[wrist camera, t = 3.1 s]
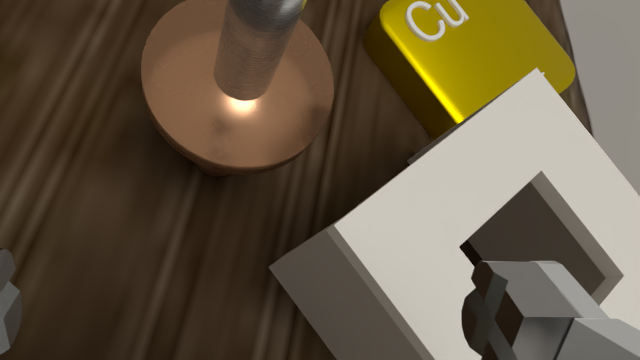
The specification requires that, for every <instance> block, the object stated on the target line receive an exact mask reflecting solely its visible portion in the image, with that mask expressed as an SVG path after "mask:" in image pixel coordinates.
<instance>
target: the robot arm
mask: <svg viewBox="0 0 640 360" xmlns="http://www.w3.org/2000/svg"><path fill="white" fill-rule="evenodd" d="M15 270H16V269H15V264H14V260H13V256H12V253H11V252H9V251H8V250H7V249H3V248H0V355H1V354H2V353H4V352H5V351H7V350H8V349H10V347H11V346H12V344H13V342H14V340H15V338H16V336H17V334H18V331H19V327H20V323H21V319H22V299H21V293H20V291H19V290H18V289H17V288H16V287H15V286H14V285H12V284H11V283H10V282H9V279H10V278H11V276H12V275H13V273H14V272H15ZM471 280H472V282H473V284H474V286H475V289H474V290H473V291H472V292H470V293H469V294H468V295H467V296H466V297H465V299H464V303H463V307H462V311H461V322H462V330H463V333H464V337H465V339H466V341H467V343H468V346H469V347H470V348H471V349H472V350H474V351H475V352H476V353H478V354H479V355H480V356H482V358H481V360H640V330H638V329H636V328H634V327H633V326H631V325H629V324H627V323H625V322H623V321H622V320H620V319H611V318H609V317H608V316H607V314H606V313H605V312H604V311H603V310H602V309H601V308H600V307H599V305H598V304H597V303H596V302H595V301H594V300H593V299H592V298H591V296H590V295H589V294H588V293H587V292H586V291H585V290H584V289H583V287H582V286H581V285H580V284H579V283H578V282H577V281H576V280H575V278H574V277H573V276H572V275H571V274H570V273H569V272H568V271H567V269H566V268H565V267H564V266H563V265H562V264H560V263H558V262H556V261H529V262H512V261H479V262H478V263H477V265H476V266H475V267H474V270H473V273H472V276H471Z"/></svg>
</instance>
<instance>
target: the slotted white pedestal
mask: <svg viewBox="0 0 640 360" xmlns="http://www.w3.org/2000/svg"><path fill="white" fill-rule="evenodd" d="M407 162H408V163H409V166H408V167H407V168H406V169H404V170H403V171H402V172H400V173H399V174H398V175H397V176H395V177H394V178H393V179H391V180H390V181H389V182H387V183H386V184H385V185H384V186H382V187H381V188H380V189H378V190H377V191H376V192H375V193H373V194H372V195H371V196H369V197H368V198H367V199H366V200H364V201H363V202H362V203H360V204H359V205H358V206H357V207H355V208H354V209H353V210H351V211H350V212H349V213H348V214H346V215H345V216H344V217H342V218H340V219H339V220H337V221H336V222H334V223H333V224H331V225H330V226H328V227H327V228H325V229H324V230H322V231H321V232H319V233H317V234H316V235H314V236H313V237H311V238H310V239H308V240H307V241H305V242H304V243H302V244H301V245H299V246H298V247H296V248H295V249H293V250H291V251H290V252H288V253H287V254H285V255H284V256H282V257H281V258H279V259H278V260H277V261H276V262H274V263H273V264H272V265H270V266H269V269H270V270H271V271H272V273H273V274H274V275H275V277H276V278H277V280H278V281H279V282H280V284H281V285H282V286H283V288H284V289H285V290H286V292H287V293H288V294H289V296H290V297H291V298H292V300H293V301H294V303H295V304H296V305H297V307H298V308H299V309H300V311H301V312H302V313H303V315H304V316H305V317H306V319H307V320H308V321H309V323H310V324H311V326H312V327H313V328H314V330H315V331H316V332H317V334H318V335H319V336H320V338H321V339H322V340H323V342H324V343H325V345H326V346H327V347H328V349H329V350H330V351H331V353H332V354H333V355H334V357H335V358H336V359H337V360H481V358H482V356H480V355H479V354H478V353H476V352H475V351H474V350H472V349H471V348H470V347H469V346H468V343H467V341H466V339H465V337H464V333H463V330H462V322H461V311H462V307H463V303H464V299H465V297H466V296H467V295H468V294H469V293H470V292H472V291H473V290H474V289H475V286H474V284H473V282H472V280H471V276H472V273H473V270H474V266H473V265H472V263H471V262H470V261H469V259H468V258H467V257H466V256H465V254H464V253H463V252H462V250H461V249H460V248H459V246H460V245H461V244H463V243H464V242H465V241H466V240H468V241H469V243H470V244H471V245H472V247H473V248H474V249H475V250H476V252H477V253H478V254H479V256H480V257H481V258H482V260H483V261H512V262H529V261H556V262H558V263H560V264H562V265H563V266H564V267H565V268H566V269H567V271H568V272H569V273H570V274H571V275H572V276H573V277H574V278H575V280H576V281H577V282H578V283H579V284H580V285H581V286H582V287H583V289H584V290H585V291H586V292H587V293H588V294H589V295H590V296H591V298H592V299H593V300H594V301H595V302H596V303H597V304H598V305H599V307H600V308H601V309H602V310H603V311H604V312H605V313H606V314H607V316H608V317H609V318H611V319H620V320H622V321H623V322H625V323H627V324H629V325H631V326H633V327H634V328H636V329H638V330H640V196H639V195H638V194H637V192H636V191H635V190H634V189H633V187H632V186H631V185H630V184H629V182H627V180H626V179H625V177H624V176H623V175H622V174H621V173H620V171H619V170H618V169H617V168H616V166H615V165H614V164H613V162H612V161H611V160H610V159H609V157H608V156H607V155H606V154H605V152H604V151H603V150H602V149H601V147H600V146H599V145H598V144H597V142H596V141H595V140H594V139H593V137H592V136H591V135H590V134H589V132H588V131H587V130H586V129H585V127H584V126H583V125H582V124H581V122H580V121H579V120H578V119H577V117H576V116H575V115H574V113H573V112H572V111H571V110H570V108H569V107H568V106H567V105H566V103H565V102H564V101H563V100H562V98H561V97H560V96H559V95H558V93H557V92H556V91H555V90H554V88H553V87H552V86H551V85H550V83H549V82H548V81H547V80H546V78H545V77H544V76H543V75H542V73H541V72H540V71H539V70H538V68H535V69H534V70H533V71H531V72H530V73H528V74H527V75H526V76H524V77H523V78H521V79H520V80H519V81H517V82H516V83H514V84H513V85H512V86H510V87H509V88H507V89H506V90H505V91H503V92H502V93H500V94H499V95H498V96H496V97H495V98H493V99H492V100H491V101H489V102H488V103H486V104H485V105H484V106H482V107H481V108H479V109H478V110H477V111H475V112H474V113H472V114H471V115H470V116H468V117H467V118H465V119H464V120H463V121H461V122H460V123H458V124H457V125H456V126H454V127H453V128H451V129H450V130H449V131H447V132H446V133H444V134H443V135H442V136H440V137H439V138H437V139H436V140H434V141H433V142H432V143H430V144H429V145H427V146H426V147H425V148H423V149H422V150H420V151H419V152H418V153H416V154H415V155H414V156H412V157H411V158H410V159H408V160H407Z"/></svg>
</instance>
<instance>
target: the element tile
mask: <svg viewBox="0 0 640 360" xmlns="http://www.w3.org/2000/svg"><path fill="white" fill-rule="evenodd" d="M363 43H364V47H365V49H366V51H367V53H368V55H369V56H370V57H371V59H372V60H373V61H374V62H375V64H376V65H377V66H378V68H379V69H380V70H381V72H382V73H383V74H384V76H385V77H386V78H387V80H388V81H389V82H390V84H391V85H392V86H393V87H394V89H395V90H396V91H397V93H398V94H399V95H400V97H401V98H402V99H403V101H404V102H405V103H406V105H407V106H408V107H409V108H410V110H411V111H412V112H413V114H414V115H415V116H416V118H417V119H418V120H419V122H420V123H421V124H422V126H423V127H424V128H425V130H426V131H427V132H428V133H429V135H430V136H431V137H432V139H433V140H436V139H437V138H439V137H440V136H442V135H443V134H444V133H446V132H447V131H449V130H450V129H451V128H453V127H454V126H456V125H457V124H458V123H460V122H461V121H463V120H464V119H465V118H467V117H468V116H470V115H471V114H472V113H474V112H475V111H477V110H478V109H479V108H481V107H482V106H484V105H485V104H486V103H488V102H489V101H491V100H492V99H493V98H495V97H496V96H498V95H499V94H500V93H502V92H503V91H505V90H506V89H507V88H509V87H510V86H512V85H513V84H514V83H516V82H517V81H519V80H520V79H521V78H523V77H524V76H526V75H527V74H528V73H530V72H531V71H533V70H534V69H535V68H538V70H539V71H540V72H541V73H542V75H543V76H544V77H545V78H546V80H547V81H548V82H549V83H550V85H551V86H552V87H553V88H554V90H555V91H556V92H557V93H558V95H559V94H560V93H561V92H562V91H564V90H565V89H566V88H567V87H569V86H570V84H571V83H572V82H573V80H574V77H575V68H574V65H573V63H572V61H571V59H570V58H569V56H568V55H567V54H566V52H565V51H564V50H563V49H562V47H561V46H560V45H559V44H558V42H557V41H556V40H555V39H554V37H553V36H552V35H551V33H550V32H549V31H548V30H547V28H546V27H545V26H544V25H543V23H542V22H541V21H540V20H539V18H538V17H537V16H536V15H535V13H534V12H533V11H532V9H531V8H530V7H529V6H528V4H527V3H526V2H525V1H524V0H389V1H387V2H386V3H385V4H384V5H383V6H382V7H381V9H380V10H379V12H378V13H377V15H376V16H375V18H374V19H373V21H372V22H371V24H370V25H369V27H368V28H367V30H366V31H365V33H364V34H363Z"/></svg>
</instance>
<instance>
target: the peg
mask: <svg viewBox="0 0 640 360" xmlns="http://www.w3.org/2000/svg"><path fill="white" fill-rule="evenodd" d="M306 2H307V0H186V1H184V2H182V3H180V4H179V5H177V6H175V7H174V8H173V9H171V10H170V11H169V12H167V13H166V14H165V15H164V16H163V17H162V18H161V19H160V20H159V21H158V23H157V24H156V25H155V27H154V28H153V29H152V31H151V33H150V35H149V37H148V39H147V41H146V44H145V47H144V50H143V56H142V62H141V78H142V90H143V97H144V102H145V105H146V108H147V112H148V114H149V116H150V118H151V120H152V122H153V124H154V125H155V127H156V129H157V130H158V132H159V133H160V134H161V136H162V137H163V138H164V139H165V140H166V141H167V143H168V144H170V145H171V146H172V147H173V148H174V149H175V150H176V151H177V152H179V153H180V154H182V155H183V156H184V157H186V158H187V159H189V160H191V161H193V162H195V164H196V165H197V167H198V168H199V169H200V170H201V171H202V172H204V173H205V174H207V175H210V176H213V177H223V176H227V175H229V174H257V173H263V172H267V171H271V170H274V169H276V168H279V167H281V166H284V165H285V164H287V163H289V162H290V161H292V160H294V159H295V158H296V157H298V156H299V155H300V154H301V153H302V152H303V151H304V150H305V149H306V148H307V147H308V146H309V145H310V144H311V142H312V141H313V140H314V139H315V137H316V136H317V135H318V133H319V132H320V130H321V129H322V128H323V126H324V124H325V122H326V120H327V118H328V116H329V113H330V110H331V107H332V101H333V90H334V84H333V75H332V71H331V66H330V63H329V60H328V58H327V55H326V53H325V51H324V49H323V47H322V45H321V43H320V42H319V41H318V39H317V38H316V36H315V35H314V34H313V32H312V31H311V30H310V29H309V28H308V27H307V26H306V25H305V24H304V23H303V22H302V21H301V20H300V19H299V18H300V15H301V13H302V11H303V8H304V6H305V4H306Z"/></svg>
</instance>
